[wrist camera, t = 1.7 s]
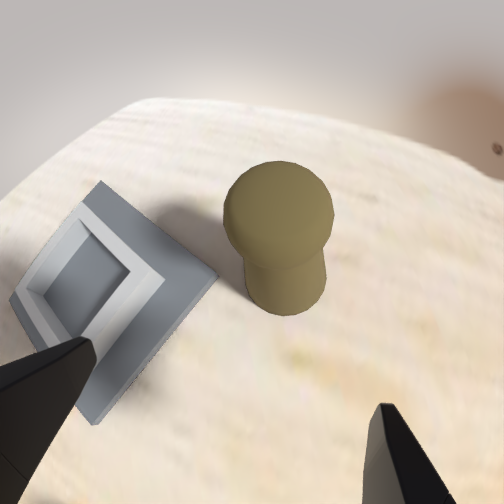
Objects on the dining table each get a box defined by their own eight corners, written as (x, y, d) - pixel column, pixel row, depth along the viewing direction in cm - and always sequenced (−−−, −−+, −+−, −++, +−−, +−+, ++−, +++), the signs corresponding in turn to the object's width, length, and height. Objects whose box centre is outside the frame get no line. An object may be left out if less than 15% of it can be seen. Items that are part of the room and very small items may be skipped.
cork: (253, 324, 22) (216, 277, 12) (238, 248, 25) (199, 158, 15) (335, 305, 22) (367, 242, 12) (314, 230, 24) (322, 131, 14)
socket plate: (98, 424, 20) (72, 427, 17) (15, 302, 26) (-8, 292, 23) (219, 276, 24) (207, 259, 21) (105, 185, 29) (88, 166, 26)
